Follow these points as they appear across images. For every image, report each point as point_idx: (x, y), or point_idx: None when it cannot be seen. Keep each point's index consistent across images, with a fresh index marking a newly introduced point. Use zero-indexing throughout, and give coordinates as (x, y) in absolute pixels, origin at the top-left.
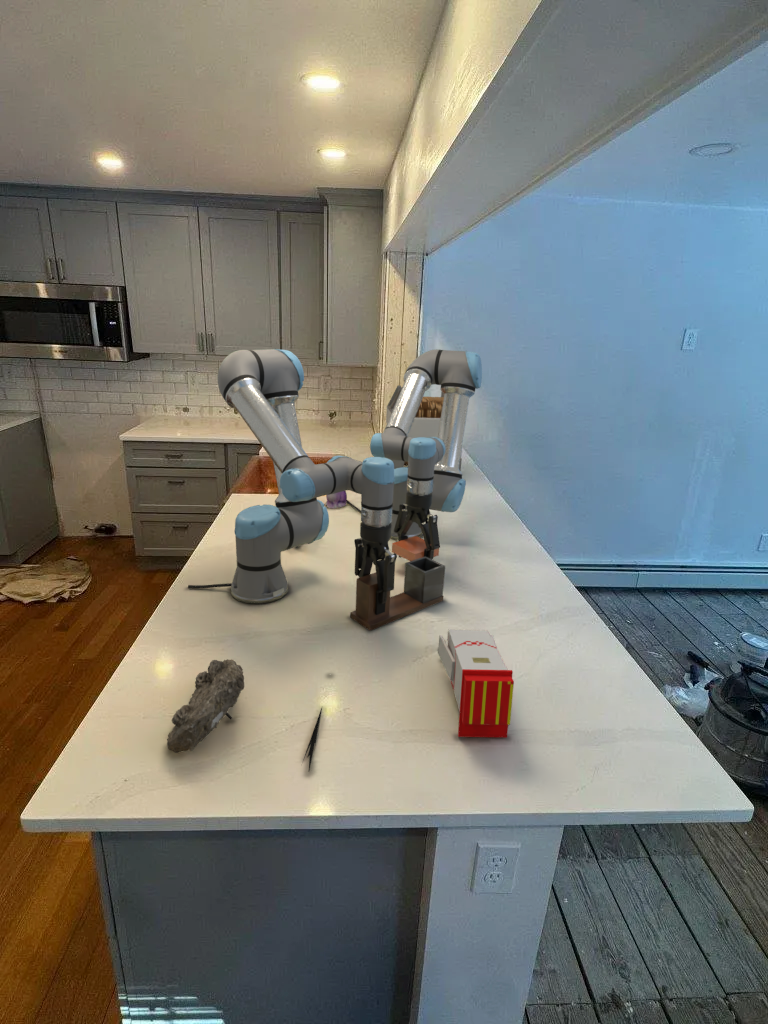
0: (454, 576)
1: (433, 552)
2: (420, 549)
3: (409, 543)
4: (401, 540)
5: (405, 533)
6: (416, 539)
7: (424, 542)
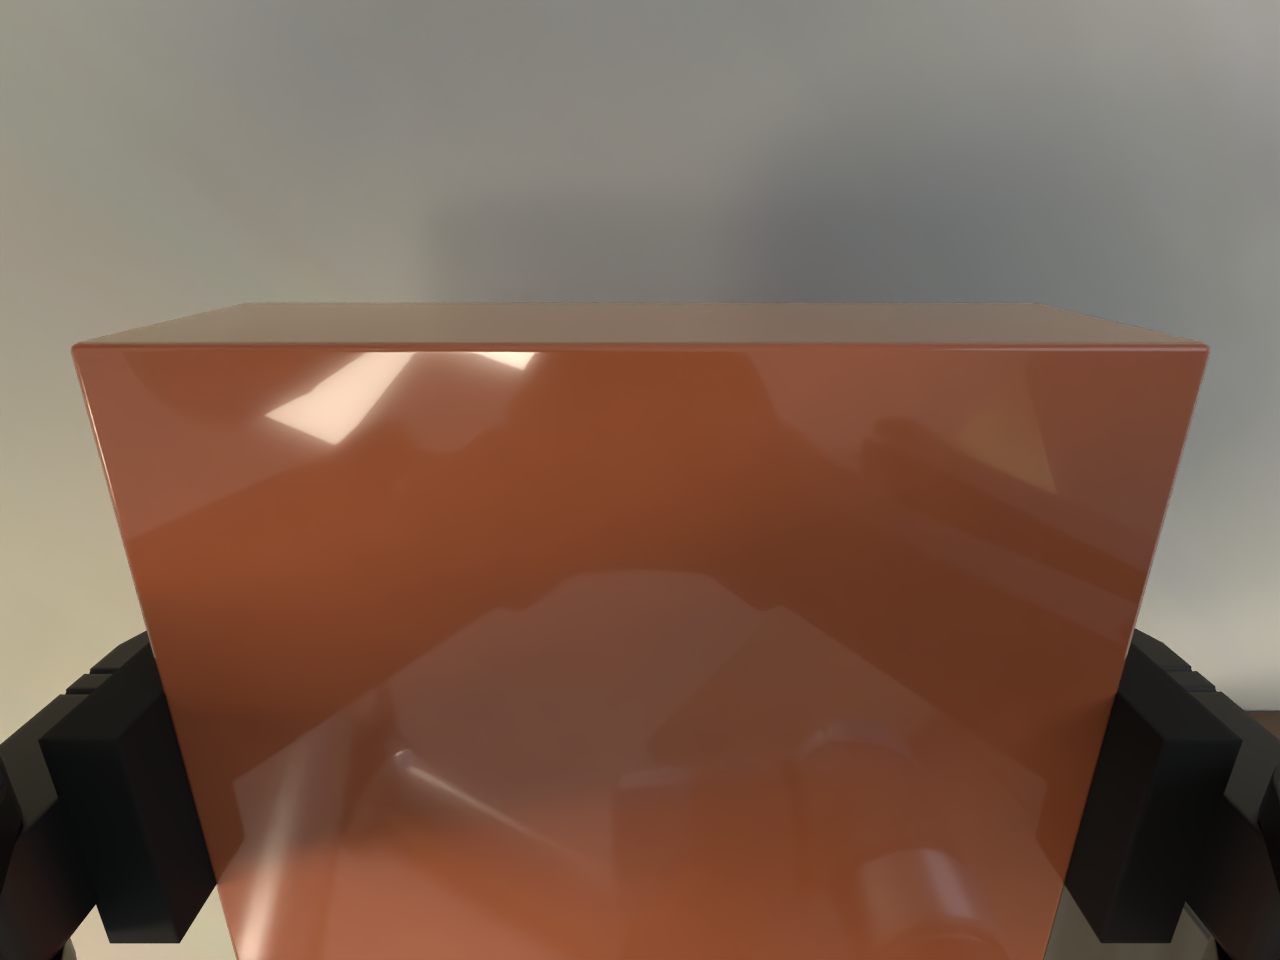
0: (1143, 111)
1: (1261, 742)
2: (935, 891)
3: (493, 864)
4: (227, 886)
5: (10, 869)
6: (346, 551)
7: (672, 519)
